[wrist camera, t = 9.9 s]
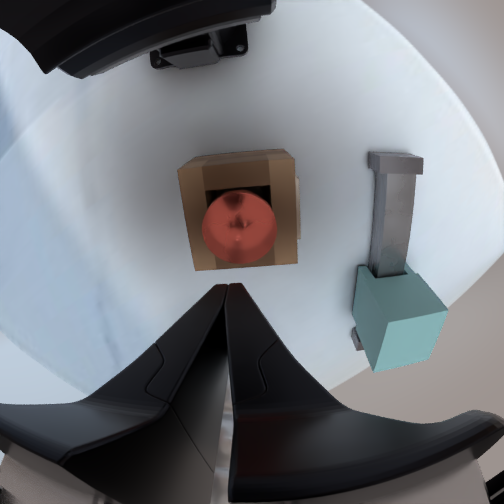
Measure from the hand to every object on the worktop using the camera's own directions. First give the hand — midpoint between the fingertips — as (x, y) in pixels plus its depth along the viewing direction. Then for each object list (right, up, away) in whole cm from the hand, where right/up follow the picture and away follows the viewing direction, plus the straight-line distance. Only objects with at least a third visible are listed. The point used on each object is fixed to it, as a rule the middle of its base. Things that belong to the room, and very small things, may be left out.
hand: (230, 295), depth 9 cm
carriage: (+12, -2, +14) cm, 19 cm away
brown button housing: (0, +5, +11) cm, 12 cm away
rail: (+12, +1, +13) cm, 17 cm away
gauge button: (0, +5, +9) cm, 11 cm away
